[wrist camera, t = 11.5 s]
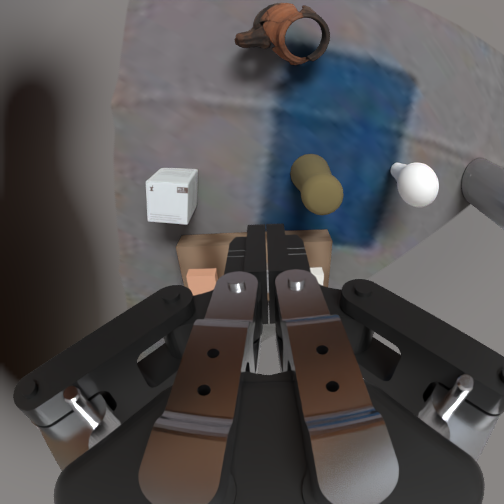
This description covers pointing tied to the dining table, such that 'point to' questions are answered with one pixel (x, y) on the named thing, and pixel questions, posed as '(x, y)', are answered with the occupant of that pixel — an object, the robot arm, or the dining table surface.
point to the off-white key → (318, 274)
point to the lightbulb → (416, 183)
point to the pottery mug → (281, 31)
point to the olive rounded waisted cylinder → (316, 184)
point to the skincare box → (172, 195)
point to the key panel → (216, 245)
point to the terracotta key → (201, 280)
